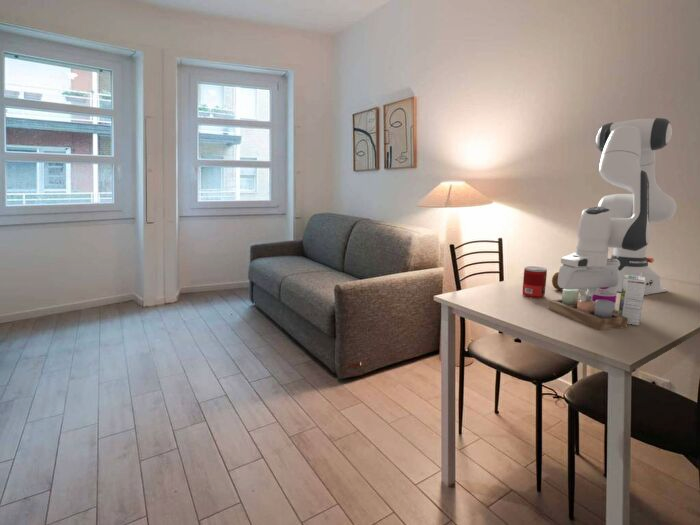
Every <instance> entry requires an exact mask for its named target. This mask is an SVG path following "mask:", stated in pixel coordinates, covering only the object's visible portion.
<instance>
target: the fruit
mask: <svg viewBox="0 0 700 525" xmlns="http://www.w3.org/2000/svg"><path fill="white" fill-rule="evenodd" d="M558 274H559V271H558V272H555V273H554V274H553V275H552V279H551V284H552V286H553V288H554V289H556V290H557V291H563V288H560V287H559V286H558Z"/></svg>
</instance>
